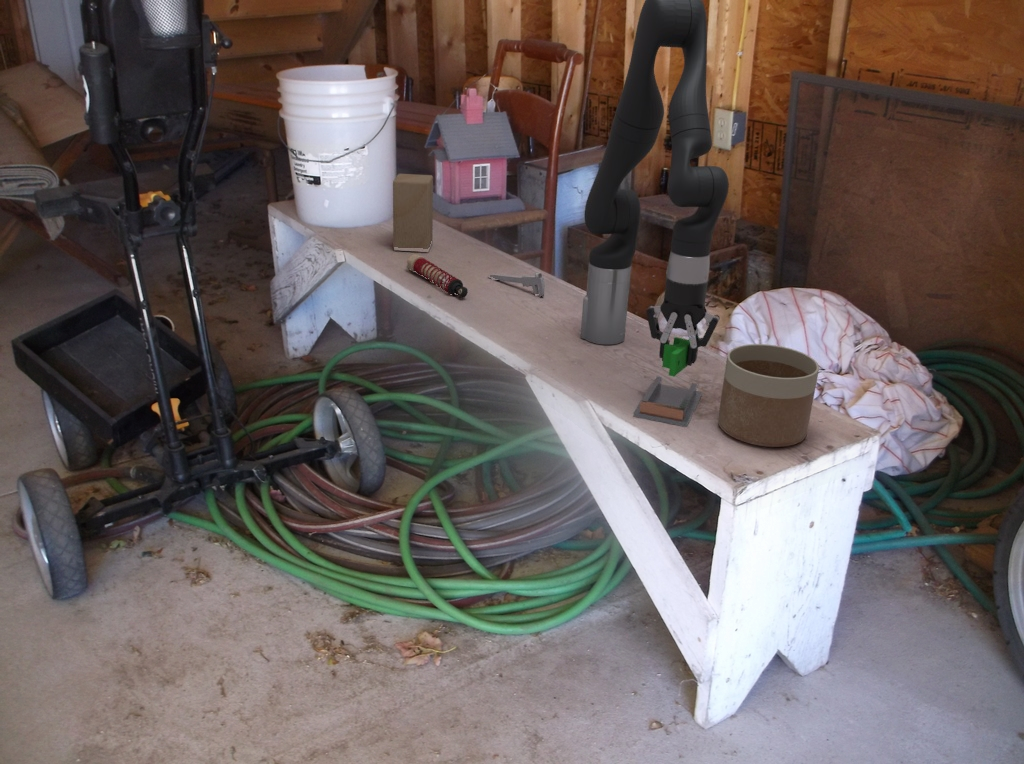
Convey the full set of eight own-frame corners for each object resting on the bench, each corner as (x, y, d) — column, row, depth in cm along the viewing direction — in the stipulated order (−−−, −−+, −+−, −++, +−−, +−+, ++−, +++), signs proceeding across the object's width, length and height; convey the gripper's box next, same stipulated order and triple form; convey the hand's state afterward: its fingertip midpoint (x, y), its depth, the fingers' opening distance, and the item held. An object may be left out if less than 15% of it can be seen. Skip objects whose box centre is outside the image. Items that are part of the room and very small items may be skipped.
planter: (755, 404, 183) (766, 337, 178) (824, 435, 172) (838, 366, 166) (699, 423, 175) (708, 354, 169) (767, 458, 163) (780, 385, 158)
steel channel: (633, 416, 176) (634, 402, 175) (651, 386, 189) (653, 373, 188) (686, 426, 173) (688, 413, 172) (701, 395, 186) (703, 382, 185)
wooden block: (393, 251, 267) (392, 180, 259) (398, 241, 276) (397, 173, 268) (428, 253, 267) (429, 182, 259) (432, 243, 276) (433, 174, 268)
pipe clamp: (678, 354, 186) (681, 332, 184) (696, 358, 184) (699, 336, 183) (655, 372, 177) (658, 349, 176) (674, 376, 176) (677, 353, 174)
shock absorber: (476, 286, 232) (420, 253, 254) (460, 282, 229) (405, 248, 251) (469, 304, 232) (413, 269, 255) (453, 300, 230) (399, 265, 252)
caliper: (544, 298, 236) (545, 274, 234) (541, 299, 236) (542, 275, 233) (489, 277, 250) (490, 254, 247) (486, 278, 249) (487, 255, 246)
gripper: (729, 276, 175) (717, 361, 182) (653, 265, 179) (645, 349, 186) (723, 287, 168) (711, 375, 175) (644, 276, 173) (635, 362, 180)
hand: (677, 361), depth 181 cm, fingers closed on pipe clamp, 4 cm apart
